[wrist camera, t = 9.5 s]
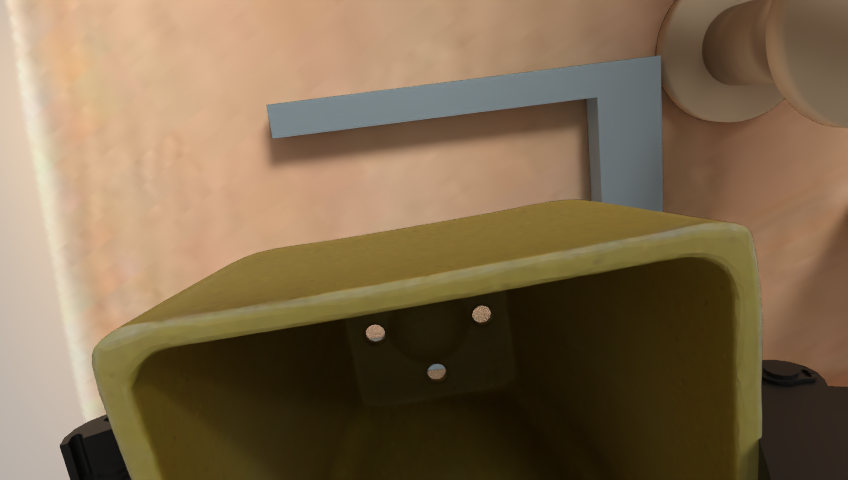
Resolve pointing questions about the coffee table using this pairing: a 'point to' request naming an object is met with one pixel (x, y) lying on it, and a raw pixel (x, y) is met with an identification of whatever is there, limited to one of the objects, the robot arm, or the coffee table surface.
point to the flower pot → (456, 355)
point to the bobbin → (756, 58)
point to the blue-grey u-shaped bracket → (597, 83)
